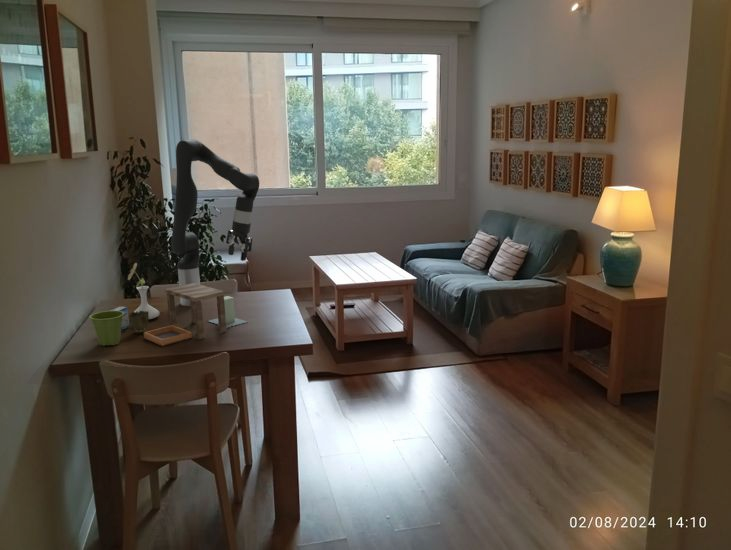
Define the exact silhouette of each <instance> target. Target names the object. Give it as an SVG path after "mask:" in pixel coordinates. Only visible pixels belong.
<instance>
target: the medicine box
mask: <svg viewBox="0 0 731 550" xmlns="http://www.w3.org/2000/svg"><path fill="white" fill-rule="evenodd" d="M109 311H122V312H124V315H123V317H122V323H121V330H123V329H125V328H127V327H128V328H130V327H129V326H130V319H129V310H128V307H127V306H118V307H115V308H112V309H111V310H109ZM128 328H127V329H128ZM125 330H126V329H125ZM123 331H124V330H123Z"/></svg>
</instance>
